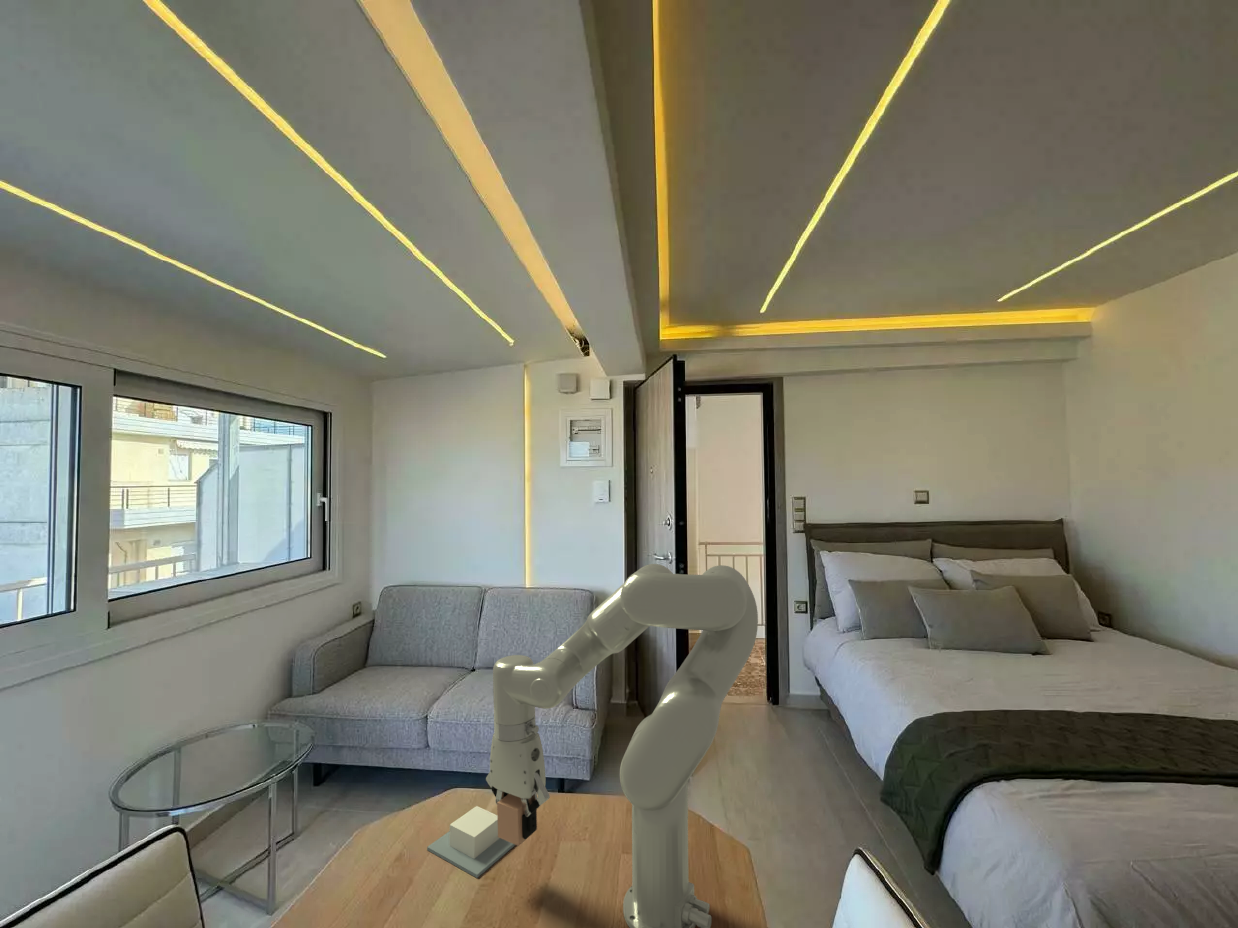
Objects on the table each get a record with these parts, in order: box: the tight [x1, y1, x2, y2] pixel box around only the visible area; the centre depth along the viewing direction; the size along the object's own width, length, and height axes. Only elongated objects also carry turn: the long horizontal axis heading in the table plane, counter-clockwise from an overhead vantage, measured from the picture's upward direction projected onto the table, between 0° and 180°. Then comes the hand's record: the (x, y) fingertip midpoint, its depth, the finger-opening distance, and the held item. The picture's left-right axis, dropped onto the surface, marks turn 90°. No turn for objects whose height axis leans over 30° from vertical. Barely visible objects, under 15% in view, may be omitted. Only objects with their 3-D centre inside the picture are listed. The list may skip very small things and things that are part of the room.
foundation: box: [426, 805, 516, 879], centre depth 100 cm, size 14×12×5 cm
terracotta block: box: [496, 794, 538, 847], centre depth 91 cm, size 5×5×6 cm
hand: (517, 828), depth 91 cm, fingers closed on terracotta block, 5 cm apart
